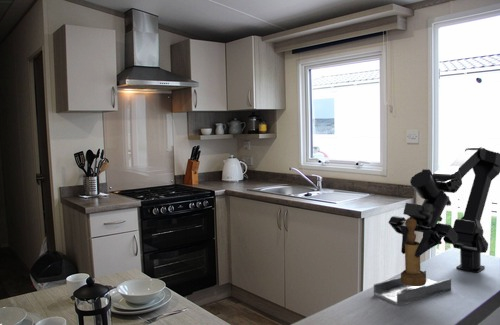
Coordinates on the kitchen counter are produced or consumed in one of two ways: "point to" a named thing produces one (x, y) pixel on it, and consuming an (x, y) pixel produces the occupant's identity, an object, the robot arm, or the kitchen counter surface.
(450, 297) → the kitchen counter surface
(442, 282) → the floor track
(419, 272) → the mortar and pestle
